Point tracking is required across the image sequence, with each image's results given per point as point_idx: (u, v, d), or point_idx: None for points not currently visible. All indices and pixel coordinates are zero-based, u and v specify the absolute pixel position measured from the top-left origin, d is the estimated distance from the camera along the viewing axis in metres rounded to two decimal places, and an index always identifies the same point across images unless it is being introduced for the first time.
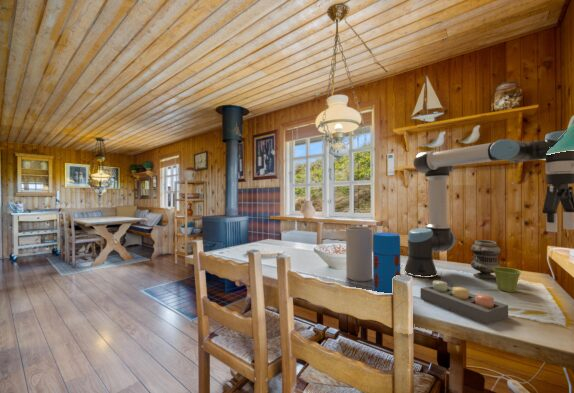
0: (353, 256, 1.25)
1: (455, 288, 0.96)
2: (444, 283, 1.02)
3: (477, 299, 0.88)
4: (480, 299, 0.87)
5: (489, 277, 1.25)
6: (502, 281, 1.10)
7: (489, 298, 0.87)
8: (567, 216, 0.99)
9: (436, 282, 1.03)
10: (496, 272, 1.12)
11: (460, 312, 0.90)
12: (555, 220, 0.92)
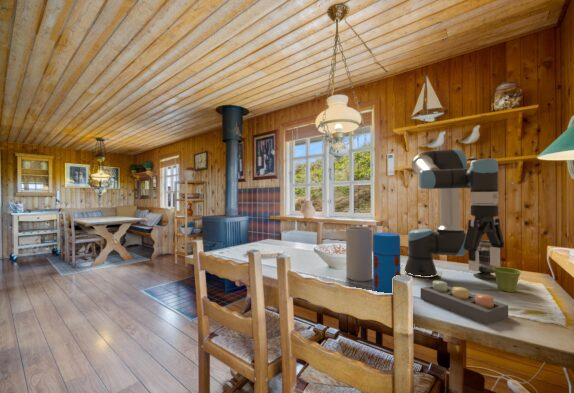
0: (353, 256, 1.25)
1: (455, 288, 0.96)
2: (444, 283, 1.02)
3: (477, 299, 0.88)
4: (480, 299, 0.87)
5: (489, 277, 1.25)
6: (502, 281, 1.10)
7: (489, 298, 0.87)
8: (493, 251, 0.91)
9: (436, 282, 1.03)
10: (496, 272, 1.12)
11: (460, 312, 0.90)
12: (476, 258, 0.84)
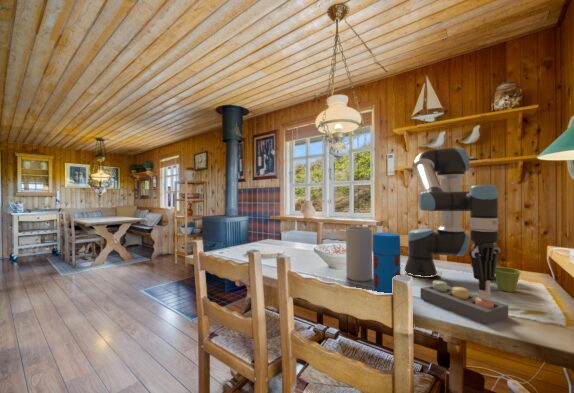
0: (353, 256, 1.25)
1: (455, 288, 0.96)
2: (444, 283, 1.02)
3: (477, 302, 0.88)
4: (480, 302, 0.87)
5: None
6: (502, 281, 1.10)
7: (489, 301, 0.87)
8: None
9: (436, 282, 1.03)
10: (496, 272, 1.12)
11: (460, 312, 0.90)
12: (487, 288, 0.87)
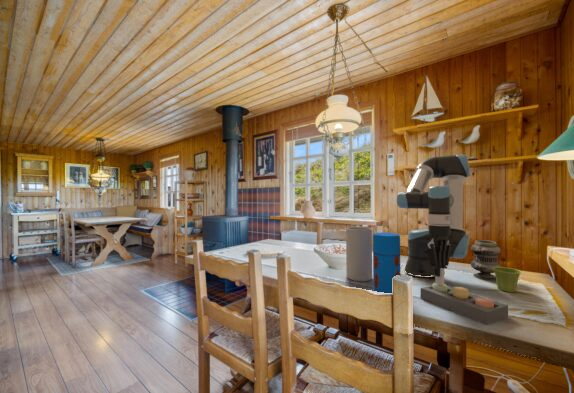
0: (353, 256, 1.25)
1: (455, 288, 0.96)
2: (444, 285, 1.02)
3: (477, 303, 0.88)
4: (480, 303, 0.87)
5: (489, 277, 1.25)
6: (502, 281, 1.10)
7: (489, 302, 0.87)
8: None
9: (436, 284, 1.03)
10: (496, 272, 1.12)
11: (460, 312, 0.90)
12: (441, 274, 1.01)
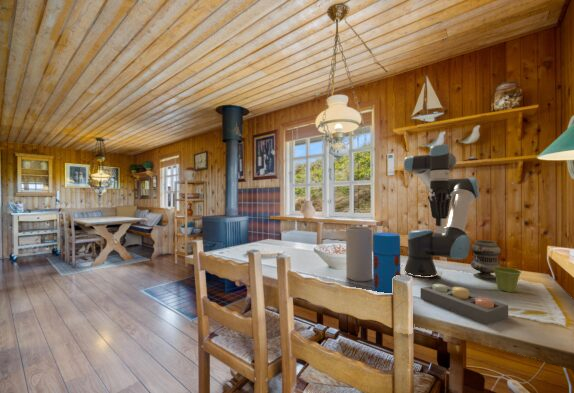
0: (353, 256, 1.25)
1: (455, 288, 0.96)
2: (444, 286, 1.02)
3: (477, 303, 0.88)
4: (480, 303, 0.87)
5: (489, 277, 1.25)
6: (502, 281, 1.10)
7: (489, 302, 0.87)
8: None
9: (436, 285, 1.03)
10: (496, 272, 1.12)
11: (460, 312, 0.90)
12: (441, 224, 1.14)
